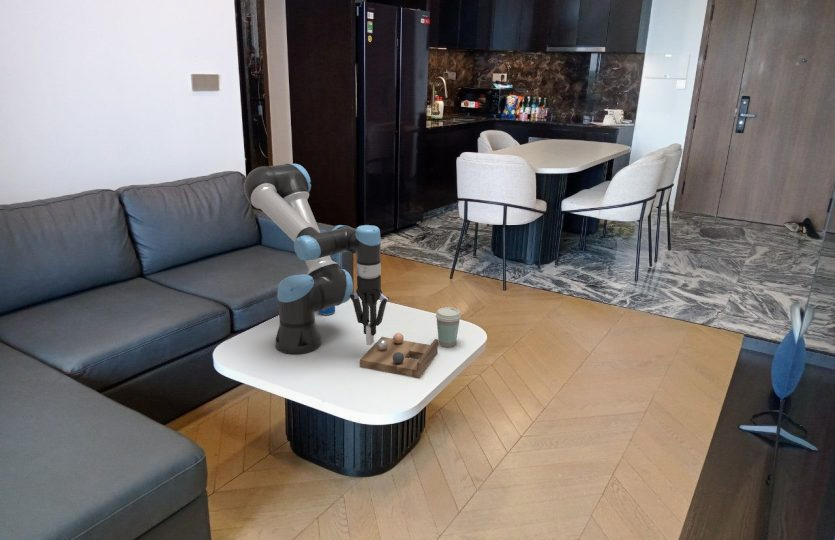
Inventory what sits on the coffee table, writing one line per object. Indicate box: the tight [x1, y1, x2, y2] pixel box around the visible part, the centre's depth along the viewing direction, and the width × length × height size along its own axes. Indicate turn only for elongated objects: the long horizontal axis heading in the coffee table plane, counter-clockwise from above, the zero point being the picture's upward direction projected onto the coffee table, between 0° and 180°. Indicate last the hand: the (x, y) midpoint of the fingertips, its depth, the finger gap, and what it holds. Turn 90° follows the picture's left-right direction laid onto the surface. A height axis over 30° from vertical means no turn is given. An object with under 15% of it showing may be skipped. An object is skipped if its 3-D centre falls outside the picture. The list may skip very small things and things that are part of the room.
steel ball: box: [377, 339, 388, 350], centre depth 189 cm, size 4×4×4 cm
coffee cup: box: [435, 306, 462, 348], centre depth 199 cm, size 8×9×12 cm
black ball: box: [393, 352, 404, 363], centre depth 181 cm, size 4×4×4 cm
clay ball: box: [392, 332, 405, 344], centre depth 194 cm, size 4×4×4 cm
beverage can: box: [317, 306, 336, 316], centre depth 222 cm, size 6×6×12 cm
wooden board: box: [359, 336, 439, 379], centre depth 188 cm, size 20×18×5 cm
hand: (370, 343), depth 190 cm, fingers closed
